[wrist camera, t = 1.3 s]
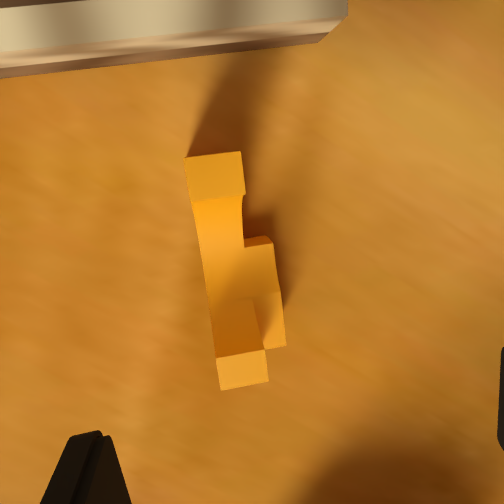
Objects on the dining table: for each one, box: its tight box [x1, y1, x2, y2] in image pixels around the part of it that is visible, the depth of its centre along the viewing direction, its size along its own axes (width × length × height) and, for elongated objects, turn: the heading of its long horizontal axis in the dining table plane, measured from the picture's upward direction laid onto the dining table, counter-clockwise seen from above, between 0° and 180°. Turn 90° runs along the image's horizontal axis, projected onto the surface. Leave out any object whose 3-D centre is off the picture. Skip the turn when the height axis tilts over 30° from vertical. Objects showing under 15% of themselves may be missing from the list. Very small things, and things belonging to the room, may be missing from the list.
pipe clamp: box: [183, 151, 286, 391], centre depth 21 cm, size 12×4×6 cm, turn 7°
